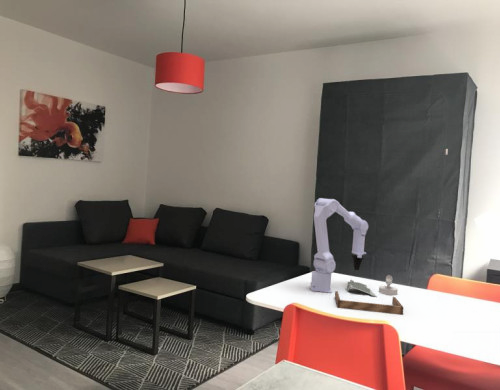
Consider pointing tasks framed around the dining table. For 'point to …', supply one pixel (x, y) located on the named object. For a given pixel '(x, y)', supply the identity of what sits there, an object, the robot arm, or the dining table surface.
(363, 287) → the metal bracket
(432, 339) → the dining table surface
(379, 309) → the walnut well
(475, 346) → the dining table surface
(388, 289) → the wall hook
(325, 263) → the robot arm
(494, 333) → the dining table surface
